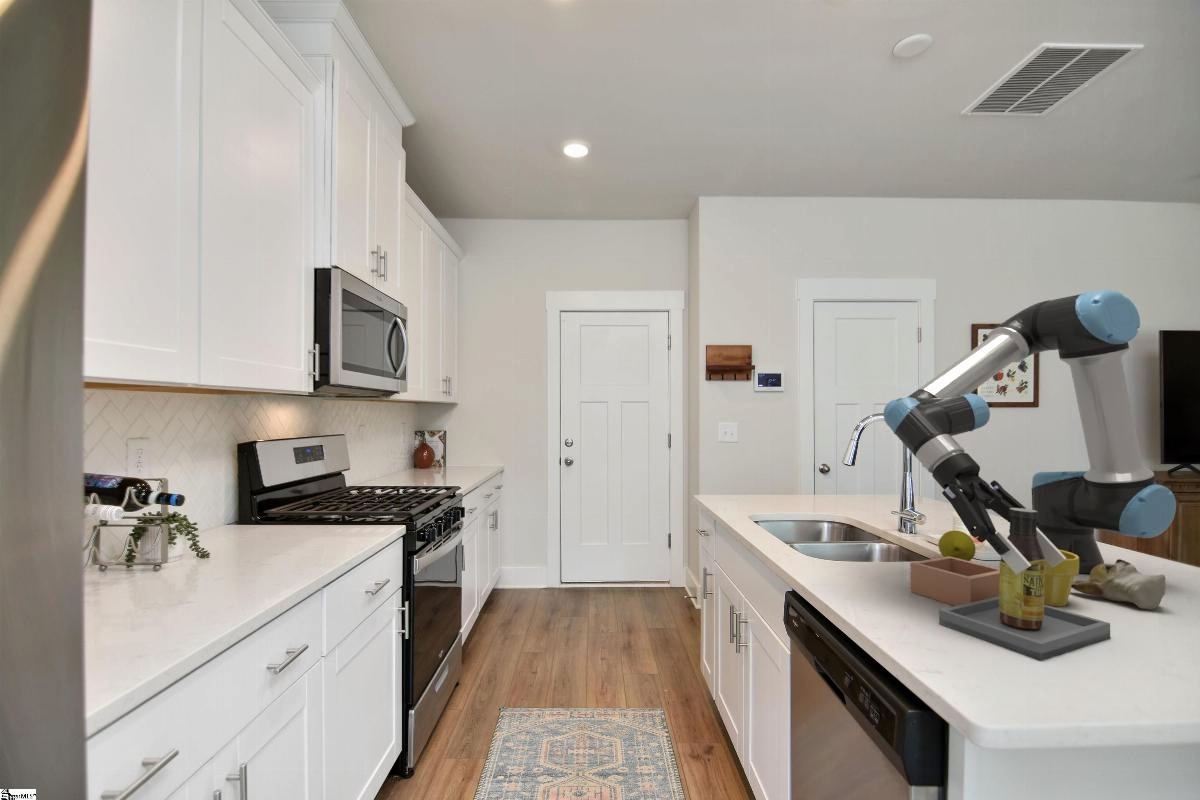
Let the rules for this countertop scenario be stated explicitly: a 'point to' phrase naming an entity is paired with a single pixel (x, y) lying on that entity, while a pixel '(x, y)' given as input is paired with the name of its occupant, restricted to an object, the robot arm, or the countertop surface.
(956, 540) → the lemon
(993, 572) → the terracotta holder
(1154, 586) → the ceramic sculpture
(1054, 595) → the plant pot
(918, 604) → the countertop surface
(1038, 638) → the grey tray
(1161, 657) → the countertop surface
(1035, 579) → the sauce bottle
